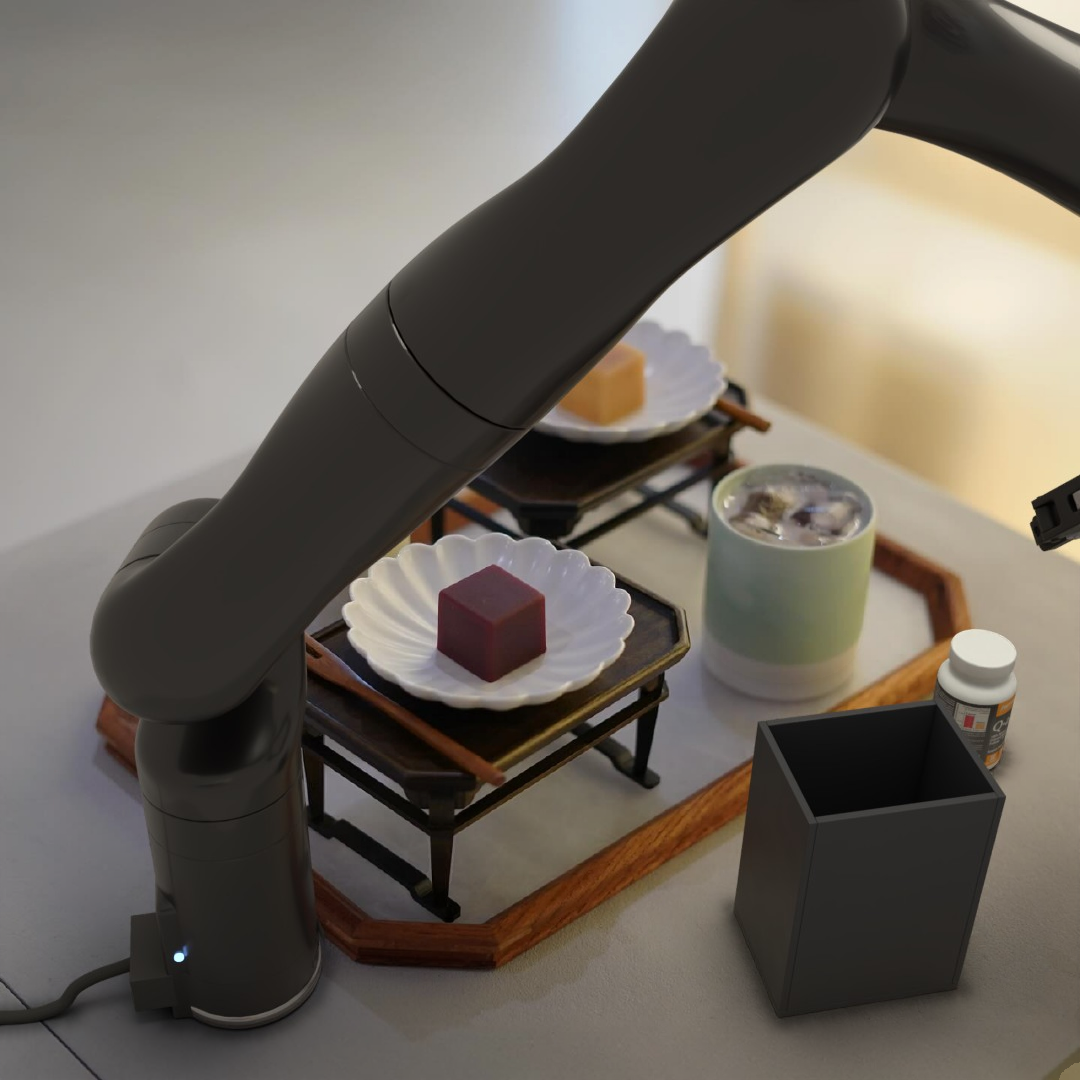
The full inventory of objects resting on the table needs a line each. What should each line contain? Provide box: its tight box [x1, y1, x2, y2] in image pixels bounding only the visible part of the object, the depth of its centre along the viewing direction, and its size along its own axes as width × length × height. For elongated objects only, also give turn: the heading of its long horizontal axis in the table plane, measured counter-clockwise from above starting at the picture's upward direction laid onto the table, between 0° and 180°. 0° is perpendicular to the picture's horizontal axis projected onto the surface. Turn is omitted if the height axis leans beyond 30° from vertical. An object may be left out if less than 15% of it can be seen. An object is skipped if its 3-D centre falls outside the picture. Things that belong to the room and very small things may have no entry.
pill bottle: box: [932, 628, 1018, 771], centre depth 113 cm, size 6×6×10 cm
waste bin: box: [733, 698, 1007, 1018], centre depth 94 cm, size 12×9×16 cm
